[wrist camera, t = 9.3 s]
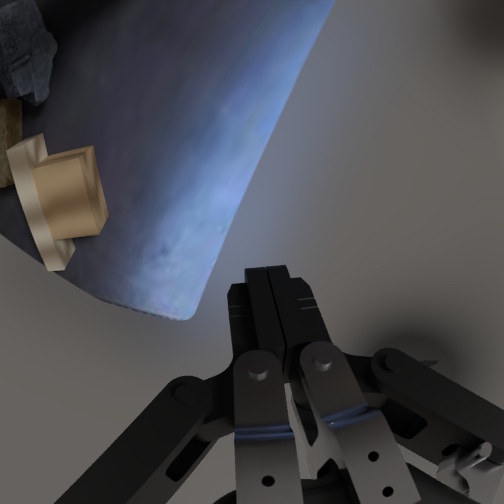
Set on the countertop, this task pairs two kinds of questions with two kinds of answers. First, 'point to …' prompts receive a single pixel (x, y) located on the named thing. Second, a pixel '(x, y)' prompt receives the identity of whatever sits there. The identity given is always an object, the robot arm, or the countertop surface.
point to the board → (37, 202)
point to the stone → (25, 52)
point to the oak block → (71, 193)
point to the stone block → (9, 135)
